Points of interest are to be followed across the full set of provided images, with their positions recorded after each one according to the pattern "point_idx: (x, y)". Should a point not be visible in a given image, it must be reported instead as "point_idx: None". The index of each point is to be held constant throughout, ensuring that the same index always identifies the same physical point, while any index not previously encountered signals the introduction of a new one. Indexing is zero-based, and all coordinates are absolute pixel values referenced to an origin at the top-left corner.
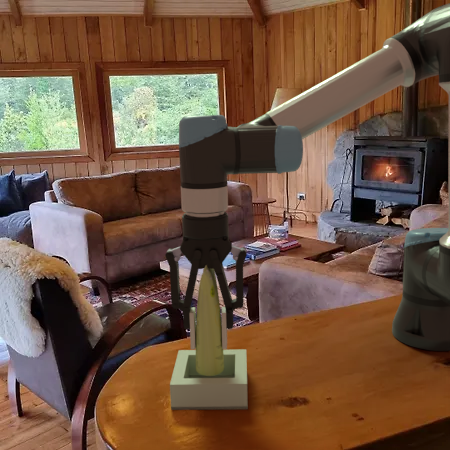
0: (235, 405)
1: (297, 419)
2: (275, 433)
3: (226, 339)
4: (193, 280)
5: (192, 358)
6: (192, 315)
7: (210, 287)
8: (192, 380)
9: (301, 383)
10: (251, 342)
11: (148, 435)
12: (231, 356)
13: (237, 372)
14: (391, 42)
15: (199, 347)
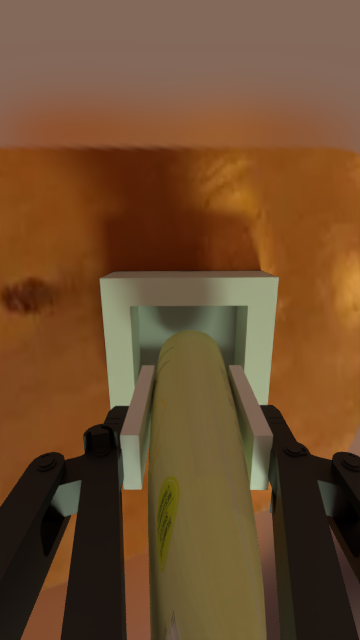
0: (136, 272)
1: (18, 235)
2: (57, 188)
3: (138, 378)
4: (313, 624)
5: None
6: (257, 429)
7: (175, 534)
8: (226, 295)
9: (17, 359)
10: None
11: (300, 181)
12: None
13: (125, 329)
14: None
15: (217, 361)
